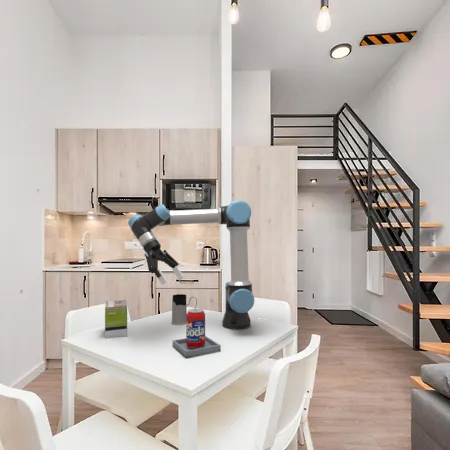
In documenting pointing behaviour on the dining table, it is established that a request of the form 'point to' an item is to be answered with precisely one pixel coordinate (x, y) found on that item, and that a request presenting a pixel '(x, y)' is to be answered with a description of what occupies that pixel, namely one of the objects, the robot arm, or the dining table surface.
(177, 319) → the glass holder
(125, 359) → the dining table surface
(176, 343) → the tray
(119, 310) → the tea box
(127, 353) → the dining table surface
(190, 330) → the soda can
